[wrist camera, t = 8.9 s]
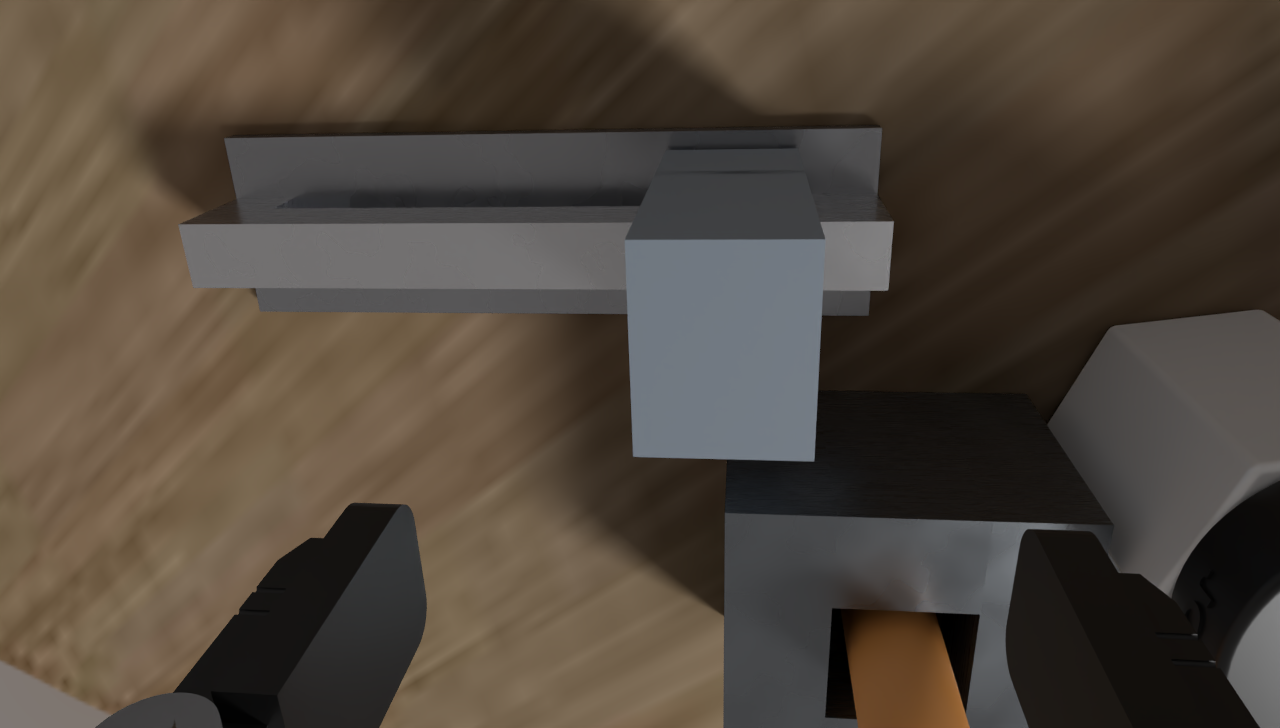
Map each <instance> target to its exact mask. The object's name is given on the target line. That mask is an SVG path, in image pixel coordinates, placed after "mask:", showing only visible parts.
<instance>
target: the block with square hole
mask: <svg viewBox="0 0 1280 728" xmlns="http://www.w3.org/2000/svg"><path fill="white" fill-rule="evenodd" d="M1027 529H1045V530H1072V531H1090V532H1092V533H1094V534H1095V535H1096V537H1097V538H1098V540H1099V541H1100V543H1101V545H1102V546H1103V548H1104V550H1105V551H1106V553H1107V555H1108V553H1109V548H1110V543H1111V538H1112V534H1113V529H1114V524H1113V523H1112V521H1111V520H1110V519H1109V517H1108V516H1107V514H1106V513H1105V511H1104V510H1103V508H1102V507H1101V505H1100V504H1099V502H1098V501H1097V499H1096V498H1095V496H1094V495H1093V493H1092V492H1091V490H1090V489H1089V487H1088V486H1087V484H1086V483H1085V481H1084V480H1083V478H1082V477H1081V475H1080V474H1079V472H1078V471H1077V469H1076V468H1075V466H1074V465H1073V463H1072V462H1071V460H1070V459H1069V457H1068V456H1067V454H1066V453H1065V451H1064V450H1063V448H1062V447H1061V445H1060V444H1059V442H1058V441H1057V439H1056V438H1055V436H1054V435H1053V433H1052V432H1051V430H1050V429H1049V427H1048V426H1047V424H1046V423H1045V421H1044V420H1043V418H1042V417H1041V415H1040V414H1039V412H1038V411H1037V410H1036V408H1035V407H1034V405H1033V404H1032V402H1031V401H1030V399H1029V398H1028V396H1027V395H1026V394H989V393H929V392H868V391H818V399H817V419H816V438H815V458H814V461H775V460H735V459H727V473H726V498H725V579H724V728H858V723H857V716H856V710H855V703H854V696H853V689H852V683H851V676H850V669H849V663H848V656H847V649H846V642H845V636H844V629H843V622H842V616H841V609H863V610H886V611H910V612H933V613H936V616H937V619H938V623H939V626H940V630H941V633H942V636H943V640H944V643H945V646H946V650H947V653H948V656H949V660H950V663H951V667H952V670H953V673H954V677H955V680H956V683H957V687H958V690H959V693H960V697H961V700H962V704H963V707H964V710H965V714H966V717H967V720H968V724H969V727H970V728H1029V727H1028V724H1027V722H1026V719H1025V716H1024V713H1023V711H1022V708H1021V705H1020V702H1019V700H1018V697H1017V694H1016V691H1015V689H1014V686H1013V683H1012V680H1011V677H1010V674H1009V670H1008V664H1007V657H1006V643H1005V638H1006V625H1007V619H1008V613H1009V607H1010V601H1011V595H1012V589H1013V583H1014V577H1015V571H1016V565H1017V559H1018V553H1019V547H1020V542H1021V539H1022V536H1023V534H1024V532H1025V531H1026V530H1027Z"/></svg>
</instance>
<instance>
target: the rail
mask: <svg viewBox="0 0 1280 728" xmlns="http://www.w3.org/2000/svg"><path fill="white" fill-rule="evenodd" d="M881 138H882V127H881V126H880V125H854V126H790V127H727V128H664V129H600V130H537V131H473V132H410V133H347V134H283V135H233V136H230V137H226V138H224V140H225V145H226V150H227V155H228V160H229V164H230V169H231V174H232V179H233V184H234V188H235V193H236V198H237V199H235V200H233V201H231V202H229V203H226V204H224V205H222V206H219V207H217V208H215V209H213V210H210V211H208V212H206V213H203V214H201V215H199V216H197V217H194V218H192V219H190V220H187V221H185V222H183V223H181V224H178V225H179V229H180V234H181V238H182V242H183V246H184V250H185V255H186V259H187V263H188V267H189V271H190V276H191V280H192V284H193V288H255V289H256V294H257V298H258V303H259V308H260V311H282V312H419V313H555V314H628V313H627V288H626V262H625V238H626V236H627V234H628V231H629V229H630V227H631V225H632V223H633V221H634V218H635V216H636V214H637V212H638V210H639V208H640V205H641V203H642V201H643V199H644V197H645V195H646V192H647V190H648V188H649V186H650V184H651V182H652V179H653V177H654V175H655V173H656V171H657V169H658V166H659V164H660V162H661V160H662V158H663V156H664V153H665V151H666V150H713V149H789V148H798V150H799V153H800V156H801V160H802V163H803V166H804V169H805V173H806V176H807V179H808V183H809V186H810V189H811V193H812V196H813V199H814V203H815V206H816V209H817V213H818V216H819V219H820V223H821V226H822V229H823V233H824V236H825V239H826V240H825V260H824V280H823V300H822V315H829V316H869V304H870V291H888V288H889V276H890V263H891V251H892V238H893V226H894V221H893V219H892V218H891V216H890V214H889V213H888V211H887V209H886V208H885V206H884V204H883V203H882V201H881V199H880V198H879V196H878V194H877V193H878V179H879V165H880V151H881Z"/></svg>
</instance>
